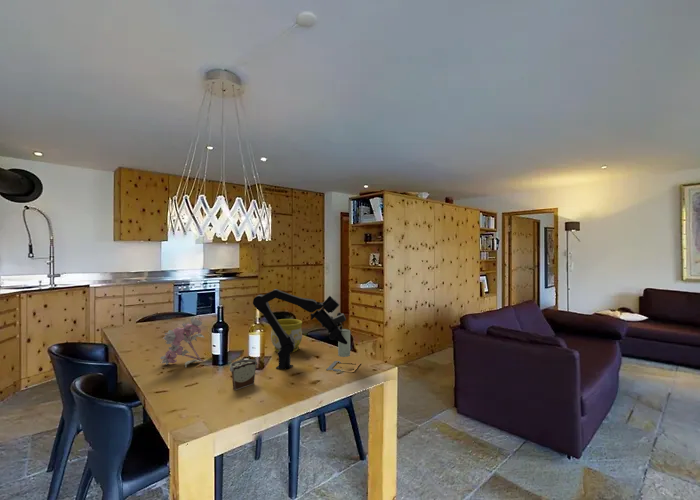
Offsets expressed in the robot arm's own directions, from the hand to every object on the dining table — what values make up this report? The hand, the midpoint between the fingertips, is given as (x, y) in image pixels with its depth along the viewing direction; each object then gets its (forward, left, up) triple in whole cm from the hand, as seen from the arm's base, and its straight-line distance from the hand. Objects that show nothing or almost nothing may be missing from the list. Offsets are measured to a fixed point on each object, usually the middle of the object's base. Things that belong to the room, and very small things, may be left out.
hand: (347, 342), depth 177 cm
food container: (-35, +37, -13) cm, 53 cm away
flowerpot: (+19, +42, -13) cm, 47 cm away
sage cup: (0, +1, -6) cm, 7 cm away
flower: (-20, +82, -13) cm, 86 cm away
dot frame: (0, +1, -12) cm, 13 cm away
